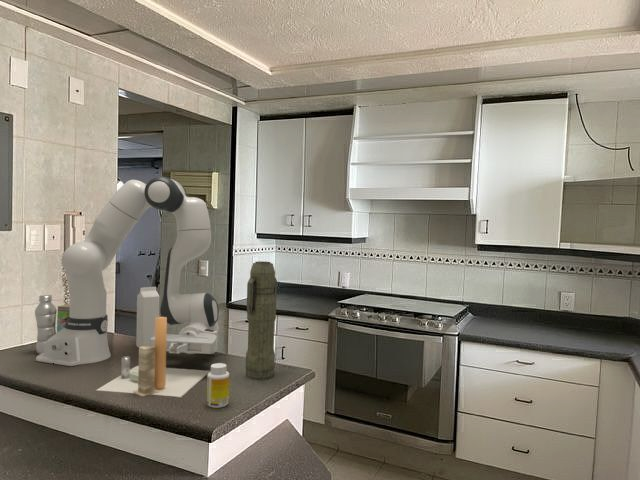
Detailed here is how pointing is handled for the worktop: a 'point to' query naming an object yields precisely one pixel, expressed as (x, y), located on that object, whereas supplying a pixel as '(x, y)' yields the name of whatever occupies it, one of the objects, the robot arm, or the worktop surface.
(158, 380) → the orange upright dowel
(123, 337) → the worktop surface
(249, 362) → the thermos
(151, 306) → the milk
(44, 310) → the plastic bottle
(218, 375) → the supplement bottle
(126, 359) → the post
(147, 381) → the post
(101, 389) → the base board
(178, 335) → the robot arm
